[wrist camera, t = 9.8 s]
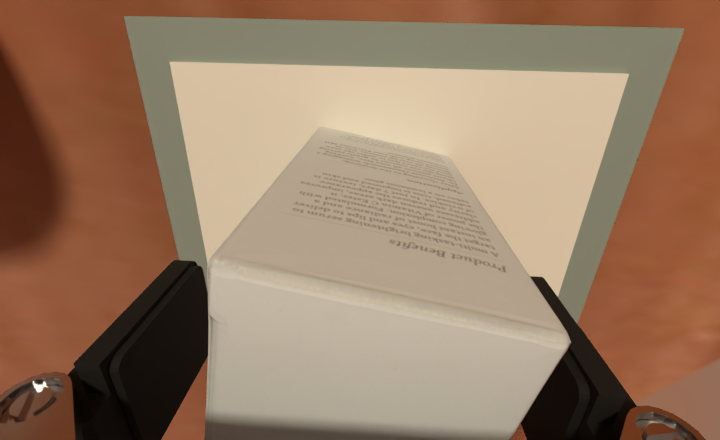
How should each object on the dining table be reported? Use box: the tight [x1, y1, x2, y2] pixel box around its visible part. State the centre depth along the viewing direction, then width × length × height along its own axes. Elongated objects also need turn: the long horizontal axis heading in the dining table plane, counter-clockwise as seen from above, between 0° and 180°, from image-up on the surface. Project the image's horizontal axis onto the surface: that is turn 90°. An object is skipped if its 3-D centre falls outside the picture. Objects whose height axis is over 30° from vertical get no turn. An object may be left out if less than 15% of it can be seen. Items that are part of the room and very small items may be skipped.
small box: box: [205, 127, 571, 440], centre depth 11 cm, size 8×6×10 cm
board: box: [124, 16, 685, 323], centre depth 17 cm, size 16×20×1 cm
